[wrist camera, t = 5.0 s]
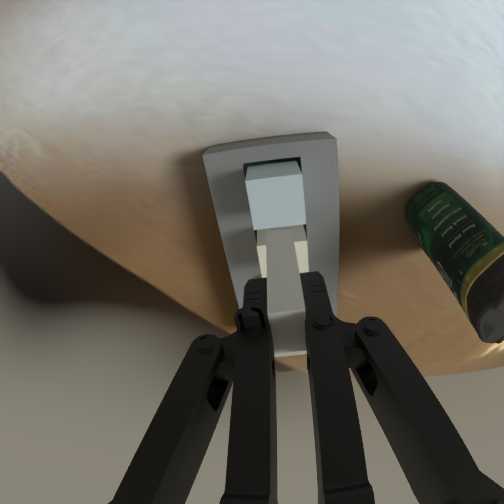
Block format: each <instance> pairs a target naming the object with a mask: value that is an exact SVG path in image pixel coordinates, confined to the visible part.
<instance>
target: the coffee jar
mask: <svg viewBox="0 0 504 504" xmlns="http://www.w3.org/2000/svg"><path fill="white" fill-rule="evenodd" d="M406 218H407V222H408V225H409V227H410V230H411V232H412V234H413V236H414V238H415V239H416V241H417V242H418V244H419V245H420V247H421V248H422V249H423V251H424V252H425V253H426V254H427V256H428V257H429V258H430V260H431V261H432V263H433V264H434V266H435V267H436V268H437V270H438V271H439V273H440V274H441V276H442V277H443V279H444V281H445V282H446V283H447V285H448V286H449V288H450V290H451V291H452V293H453V294H454V296H455V297H456V299H457V301H458V302H459V304H460V305H461V307H462V309H463V310H464V312H465V314H466V316H467V317H468V319H469V321H470V323H471V324H472V325H473V327H474V329H475V330H476V332H477V334H478V336H479V338H480V339H481V340H482V341H483V342H486V343H498V344H499V343H501V342H502V341H504V237H503V236H502V235H501V234H500V233H499V232H498V231H497V230H496V229H495V228H494V227H493V226H492V225H491V224H490V223H489V222H488V221H487V220H486V219H485V218H484V217H483V216H482V215H481V214H480V213H478V212H477V211H476V210H475V209H474V208H473V207H472V206H471V205H470V204H469V203H468V202H467V201H466V200H465V199H463V198H462V197H461V196H460V195H459V194H458V193H457V192H456V191H454V190H453V189H452V188H451V187H449V186H448V185H447V184H445V183H443V182H435V183H432V184H430V185H429V186H427V187H425V188H424V189H422V190H421V191H420V192H419V193H418V194H416V195H415V197H414V198H413V199H412V200H411V201H410V203H409V205H408V207H407V211H406Z"/></svg>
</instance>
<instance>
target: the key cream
mask: <svg viewBox="0 0 504 504" xmlns="http://www.w3.org/2000/svg"><path fill="white" fill-rule="evenodd" d="M285 229H292V234H293V240H294V245H295V251H296V256H297V262H298V268H299V273H305V272H309V266H308V246H307V238H306V234H305V230H304V226H303V225H295V226H286V227H277V228H268V229H260V230H257V252H258V257H259V263H260V269H261V275H262V278H266V277H267V262H266V232H268V231H277V230H285Z"/></svg>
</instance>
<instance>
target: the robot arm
mask: <svg viewBox="0 0 504 504" xmlns="http://www.w3.org/2000/svg"><path fill="white" fill-rule="evenodd" d="M266 262H267V277H266V278H256V279H249V280H248V281H247V283H246V284H245V286H244V297H243V307H242V308H241V309H239V310H238V311H237V312H236V313H235V316H234V320H235V324H236V327H237V331H236V332H234V333H233V334H231V335H229V336H226V337H223V338H220V339H219V338H218V337H217V336H215V335H212V334H205V335H201V336H199V337H197V338H196V339H195V340H194V341H193V342H192V344H191V345H190V347H189V349H188V351H187V353H186V355H185V357H184V359H183V361H182V363H181V365H180V367H179V369H178V371H177V372H176V374H175V376H174V378H173V380H172V382H171V384H170V386H169V388H168V390H167V392H166V394H165V396H164V398H163V400H162V402H161V404H160V406H159V408H158V410H157V412H156V414H155V416H154V418H153V419H152V422H151V424H150V425H149V427H148V430H147V431H146V433H145V436H144V437H143V440H142V441H141V443H140V445H139V448H138V449H137V451H136V453H135V455H134V457H133V459H132V461H131V463H130V466H129V467H128V469H127V472H126V473H125V476H124V478H123V480H122V482H121V484H120V486H119V488H118V490H117V492H116V494H115V496H114V498H113V500H112V501H111V502H109V503H108V504H185V502H186V499H187V497H188V495H189V492H190V490H191V487H192V485H193V483H194V480H195V478H196V475H197V473H198V470H199V468H200V465H201V463H202V461H203V458H204V456H205V453H206V451H207V448H208V446H209V443H210V441H211V438H212V435H213V433H214V430H215V428H216V425H217V423H218V420H219V417H220V415H221V412H222V410H223V407H224V404H225V402H226V399H227V396H228V394H229V391H230V388H231V386H232V383H233V393H232V406H231V418H230V431H229V444H228V457H227V470H226V485H225V492H224V494H223V496H222V497H221V500H220V504H278V501H277V418H276V377H275V376H276V375H275V360H274V354H275V353H286V352H296V351H305V350H307V369H308V373H309V383H310V393H311V403H312V413H313V425H314V437H315V451H316V465H317V482H318V504H375V500H374V493H373V489H372V486H371V485H370V483H369V481H368V477H367V470H366V462H365V455H364V449H363V442H362V436H361V430H360V424H359V418H358V412H357V407H356V402H355V397H354V392H353V386H352V382H351V377H350V372H349V368H351V370H352V372H353V374H354V376H355V378H356V380H357V382H358V384H359V385H360V387H361V389H362V391H363V393H364V395H365V397H366V398H367V401H368V402H369V404H370V406H371V408H372V410H373V412H374V414H375V416H376V418H377V420H378V422H379V424H380V426H381V427H382V429H383V431H384V433H385V435H386V437H387V439H388V441H389V443H390V445H391V447H392V449H393V451H394V453H395V455H396V457H397V460H398V461H399V464H400V466H401V468H402V470H403V472H404V474H405V476H406V478H407V480H408V482H409V484H410V486H411V489H412V491H413V493H414V495H415V496H416V498H417V500H418V502H419V503H420V504H504V489H503V488H502V487H501V486H499V485H498V484H497V483H495V482H494V481H493V480H491V479H490V478H489V477H487V476H486V475H485V474H483V473H482V472H481V471H479V469H478V467H477V465H476V463H475V462H474V460H473V458H472V456H471V455H470V453H469V451H468V449H467V447H466V445H465V444H464V442H463V440H462V438H461V437H460V435H459V433H458V432H457V430H456V429H455V427H454V425H453V423H452V422H451V420H450V418H449V417H448V415H447V414H446V412H445V410H444V409H443V407H442V406H441V404H440V402H439V401H438V399H437V398H436V396H435V394H434V393H433V391H432V390H431V389H430V387H429V385H428V384H427V382H426V381H425V379H424V378H423V376H422V375H421V373H420V372H419V370H418V369H417V367H416V366H415V364H414V363H413V362H412V360H411V359H410V357H409V356H408V354H407V353H406V351H405V350H404V349H403V347H402V346H401V344H400V343H399V342H398V340H397V339H396V337H395V336H394V335H393V333H392V332H391V331H390V329H389V328H388V326H387V325H386V324H385V323H384V322H383V321H382V320H381V319H379V318H377V317H365V318H363V319H361V320H359V322H358V323H357V324H355V323H348V322H343V321H341V320H339V319H338V318H336V316H335V315H334V314H333V311H332V307H331V303H330V299H329V296H328V292H327V288H326V285H325V281H324V277H323V276H322V275H321V274H320V273H319V272H318V271H313V272H305V273H299V268H298V262H297V256H296V251H295V245H294V240H293V234H292V229H285V230H277V231H268V232H266ZM233 380H234V381H233Z"/></svg>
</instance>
